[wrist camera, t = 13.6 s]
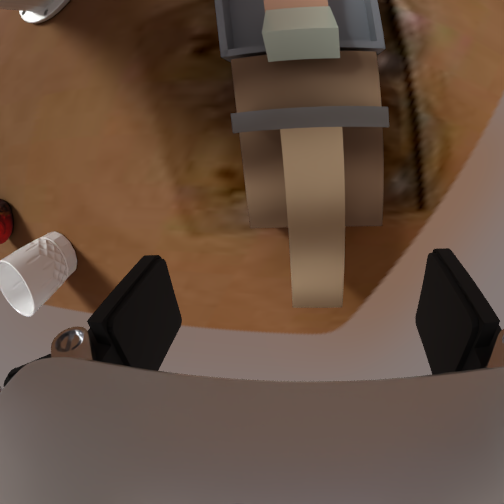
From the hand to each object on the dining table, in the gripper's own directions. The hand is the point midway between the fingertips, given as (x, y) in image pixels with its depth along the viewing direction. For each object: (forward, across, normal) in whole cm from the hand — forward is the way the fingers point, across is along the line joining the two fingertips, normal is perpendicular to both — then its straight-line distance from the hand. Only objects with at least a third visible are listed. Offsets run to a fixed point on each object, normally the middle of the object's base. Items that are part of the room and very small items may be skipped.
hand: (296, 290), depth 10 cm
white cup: (+20, +33, +8) cm, 39 cm away
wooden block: (+19, -1, -3) cm, 19 cm away
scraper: (+15, -1, +2) cm, 15 cm away
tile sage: (+16, -1, -11) cm, 19 cm away
